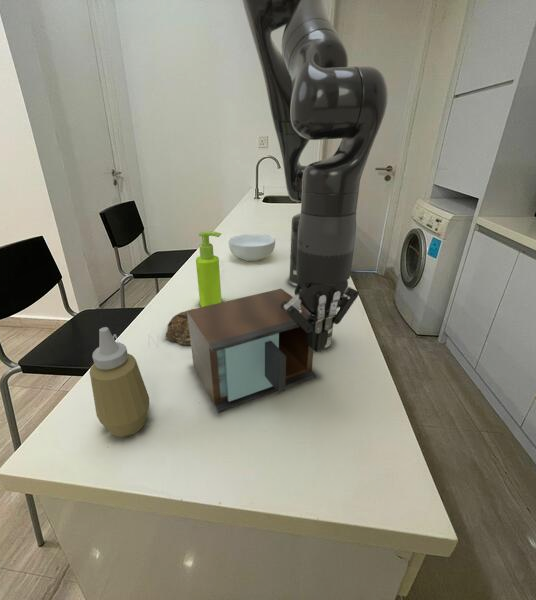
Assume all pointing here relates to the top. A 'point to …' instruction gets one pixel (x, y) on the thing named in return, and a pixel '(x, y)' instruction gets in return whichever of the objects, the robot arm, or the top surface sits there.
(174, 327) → the bread roll
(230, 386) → the glass door
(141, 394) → the squeeze bottle
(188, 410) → the top surface
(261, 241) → the cereal bowl
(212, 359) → the display cabinet
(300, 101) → the robot arm
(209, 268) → the soap dispenser
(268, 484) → the top surface
